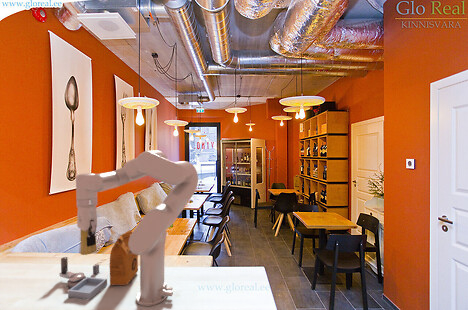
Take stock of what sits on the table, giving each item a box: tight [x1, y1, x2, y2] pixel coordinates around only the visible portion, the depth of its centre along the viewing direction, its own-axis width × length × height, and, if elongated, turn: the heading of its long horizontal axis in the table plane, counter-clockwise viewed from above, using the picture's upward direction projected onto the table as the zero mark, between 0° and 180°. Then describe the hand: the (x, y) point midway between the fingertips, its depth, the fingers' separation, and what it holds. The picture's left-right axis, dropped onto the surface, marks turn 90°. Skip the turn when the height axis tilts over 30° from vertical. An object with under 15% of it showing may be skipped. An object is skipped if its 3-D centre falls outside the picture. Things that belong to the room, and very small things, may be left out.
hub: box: [66, 275, 87, 290], centre depth 101 cm, size 7×7×2 cm
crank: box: [59, 256, 85, 283], centre depth 102 cm, size 12×6×8 cm, turn 72°
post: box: [92, 263, 100, 275], centre depth 110 cm, size 2×2×4 cm
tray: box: [67, 276, 108, 301], centre depth 96 cm, size 10×10×3 cm
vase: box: [79, 228, 98, 256], centre depth 96 cm, size 6×6×14 cm
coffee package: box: [109, 229, 139, 286], centre depth 105 cm, size 10×12×22 cm
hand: (88, 243), depth 96 cm, fingers closed on vase, 5 cm apart
